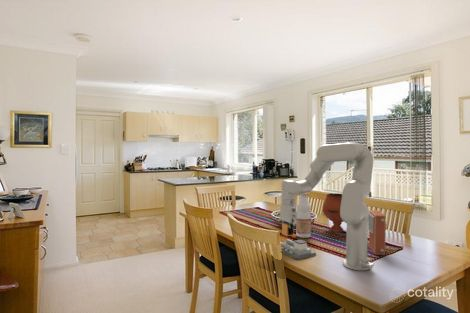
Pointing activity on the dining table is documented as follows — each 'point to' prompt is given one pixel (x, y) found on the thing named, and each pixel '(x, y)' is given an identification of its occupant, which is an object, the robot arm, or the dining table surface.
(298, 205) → the fruit juice
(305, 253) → the breaker panel
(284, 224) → the orange short cylinder
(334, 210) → the goblet
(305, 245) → the breaker handle
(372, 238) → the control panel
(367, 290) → the dining table surface
